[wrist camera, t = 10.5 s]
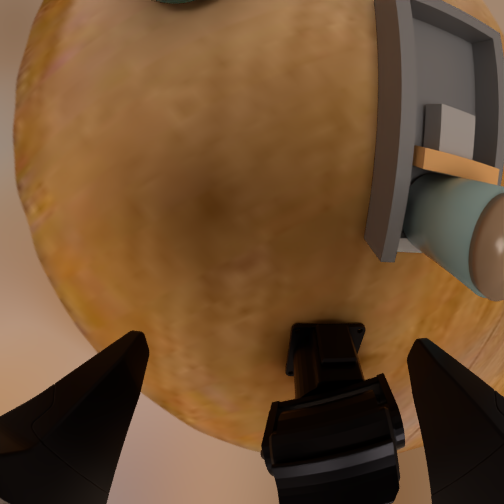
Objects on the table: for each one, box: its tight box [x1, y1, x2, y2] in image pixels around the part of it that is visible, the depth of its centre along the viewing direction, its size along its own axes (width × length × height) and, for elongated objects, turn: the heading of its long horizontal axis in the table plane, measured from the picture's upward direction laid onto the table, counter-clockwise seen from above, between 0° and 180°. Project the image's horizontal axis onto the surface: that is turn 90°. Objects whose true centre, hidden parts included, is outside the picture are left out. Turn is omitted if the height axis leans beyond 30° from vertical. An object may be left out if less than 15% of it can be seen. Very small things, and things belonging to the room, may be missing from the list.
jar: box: [403, 173, 504, 301], centre depth 12 cm, size 6×6×8 cm
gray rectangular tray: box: [364, 0, 504, 262], centre depth 13 cm, size 18×9×4 cm, turn 179°
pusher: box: [412, 104, 499, 185], centre depth 13 cm, size 4×7×3 cm, turn 89°
